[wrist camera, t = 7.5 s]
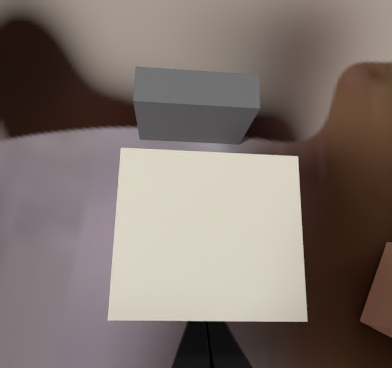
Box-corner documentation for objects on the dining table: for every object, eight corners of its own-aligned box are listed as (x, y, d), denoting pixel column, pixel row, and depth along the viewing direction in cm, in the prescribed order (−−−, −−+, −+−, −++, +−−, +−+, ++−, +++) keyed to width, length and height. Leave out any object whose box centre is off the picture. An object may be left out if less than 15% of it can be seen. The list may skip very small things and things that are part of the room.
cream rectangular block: (236, 298, 16) (307, 321, 8) (135, 296, 15) (107, 319, 8) (235, 210, 17) (297, 156, 9) (140, 206, 16) (121, 147, 9)
